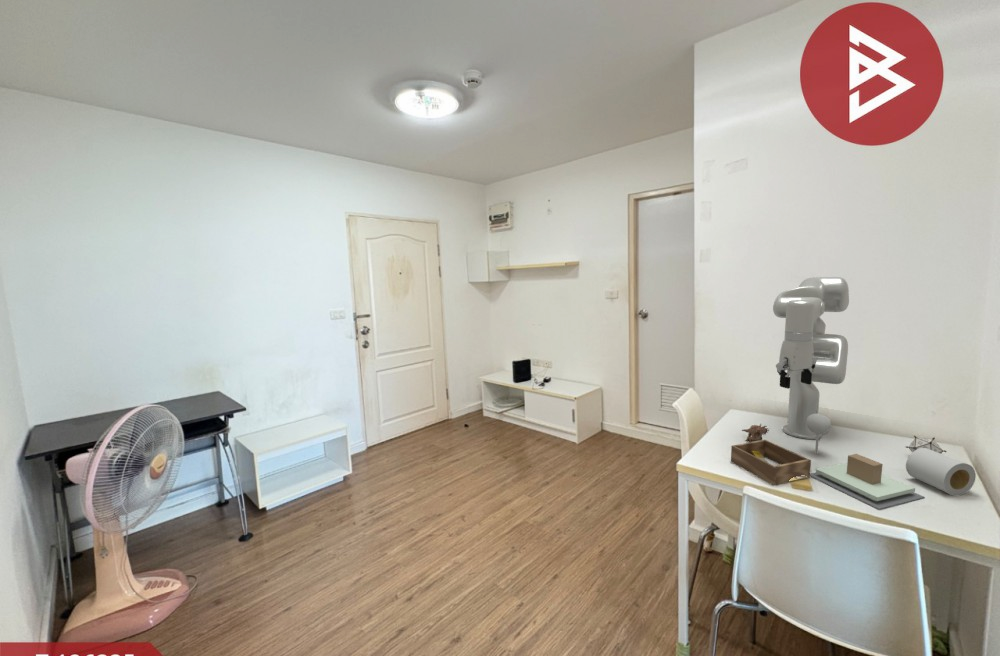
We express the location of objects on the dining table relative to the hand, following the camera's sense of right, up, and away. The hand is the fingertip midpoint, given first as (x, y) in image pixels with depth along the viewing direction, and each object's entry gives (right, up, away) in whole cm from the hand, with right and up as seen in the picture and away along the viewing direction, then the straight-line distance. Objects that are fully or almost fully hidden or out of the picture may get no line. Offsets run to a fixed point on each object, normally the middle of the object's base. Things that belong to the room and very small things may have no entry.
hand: (795, 385), depth 136 cm
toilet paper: (+31, -29, -16) cm, 45 cm away
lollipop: (+13, -26, +7) cm, 30 cm away
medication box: (-13, -29, -1) cm, 31 cm away
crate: (-11, -28, -2) cm, 30 cm away
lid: (+10, -28, -14) cm, 33 cm away
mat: (+10, -29, -14) cm, 34 cm away
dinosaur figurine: (-2, -25, +18) cm, 31 cm away
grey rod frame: (+44, -26, -1) cm, 51 cm away
